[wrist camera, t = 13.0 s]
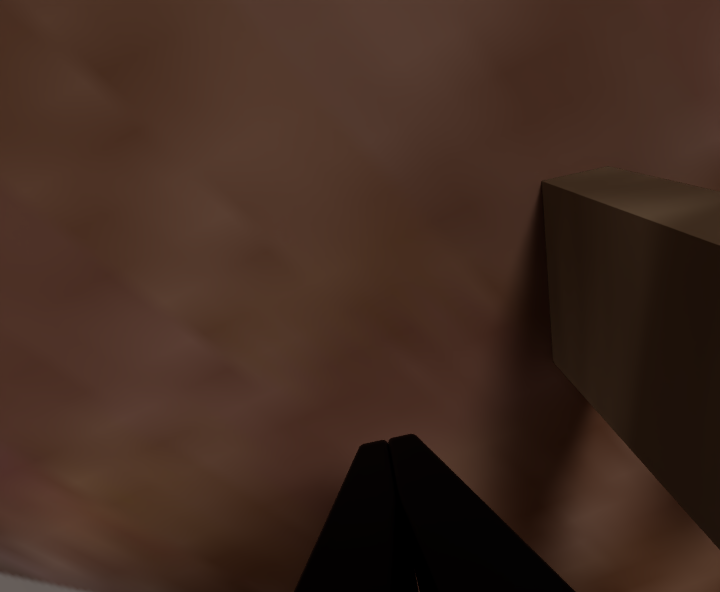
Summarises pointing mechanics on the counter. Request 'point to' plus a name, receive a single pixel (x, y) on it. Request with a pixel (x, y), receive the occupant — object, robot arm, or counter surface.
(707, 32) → the counter surface
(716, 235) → the walnut domino
